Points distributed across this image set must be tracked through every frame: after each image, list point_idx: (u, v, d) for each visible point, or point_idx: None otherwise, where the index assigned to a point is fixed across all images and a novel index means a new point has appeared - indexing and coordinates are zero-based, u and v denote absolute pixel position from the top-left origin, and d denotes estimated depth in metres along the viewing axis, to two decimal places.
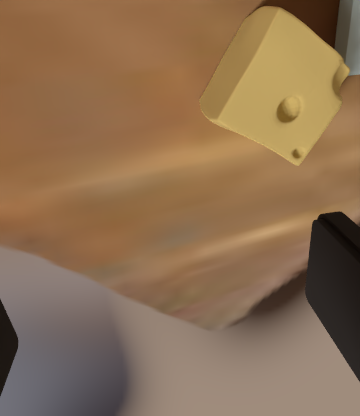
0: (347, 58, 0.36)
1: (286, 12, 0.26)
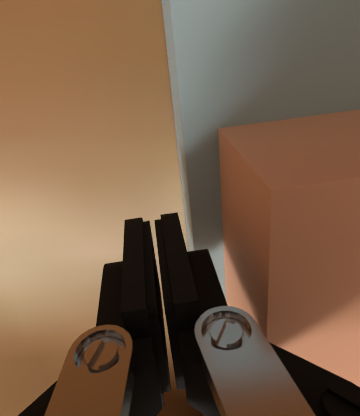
0: None
1: None
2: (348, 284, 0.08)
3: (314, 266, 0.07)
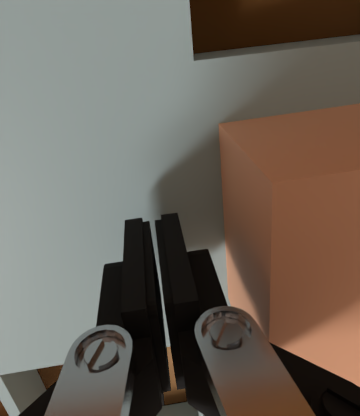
0: None
1: None
2: (351, 279, 0.08)
3: (316, 261, 0.07)
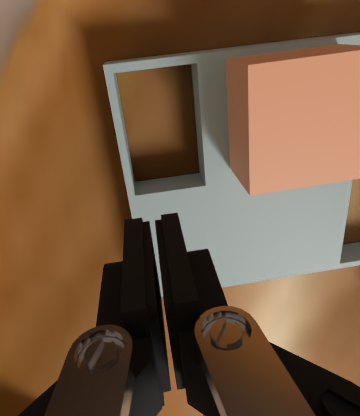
0: None
1: None
2: (296, 158, 0.19)
3: (283, 174, 0.19)
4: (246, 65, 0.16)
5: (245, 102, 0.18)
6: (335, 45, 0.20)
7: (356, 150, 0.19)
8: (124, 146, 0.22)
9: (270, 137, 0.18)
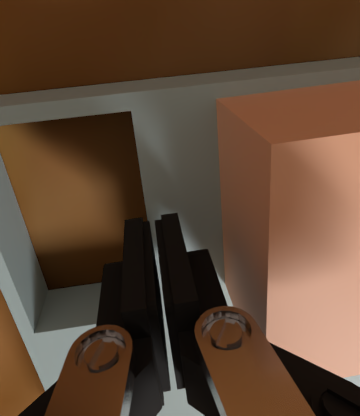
0: None
1: None
2: None
3: (339, 354, 0.09)
4: (266, 142, 0.06)
5: (259, 219, 0.07)
6: None
7: None
8: (0, 260, 0.11)
9: (316, 294, 0.08)
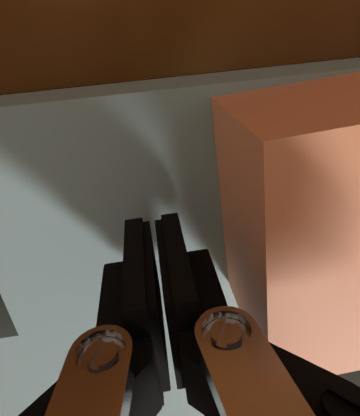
0: None
1: None
2: None
3: (343, 350, 0.09)
4: (259, 139, 0.06)
5: (256, 216, 0.07)
6: None
7: None
8: None
9: (316, 290, 0.08)
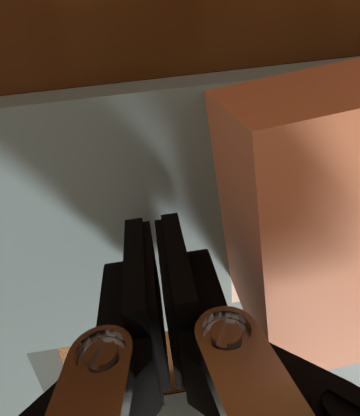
0: None
1: None
2: None
3: (345, 341, 0.09)
4: (248, 130, 0.06)
5: (250, 208, 0.07)
6: None
7: None
8: None
9: (314, 281, 0.08)
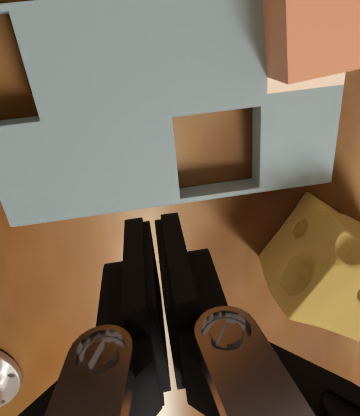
0: (314, 182, 0.34)
1: (292, 315, 0.32)
2: (323, 49, 0.24)
3: (314, 64, 0.24)
4: None
5: (282, 4, 0.23)
6: None
7: None
8: None
9: (303, 31, 0.23)
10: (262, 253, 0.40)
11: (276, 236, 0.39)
